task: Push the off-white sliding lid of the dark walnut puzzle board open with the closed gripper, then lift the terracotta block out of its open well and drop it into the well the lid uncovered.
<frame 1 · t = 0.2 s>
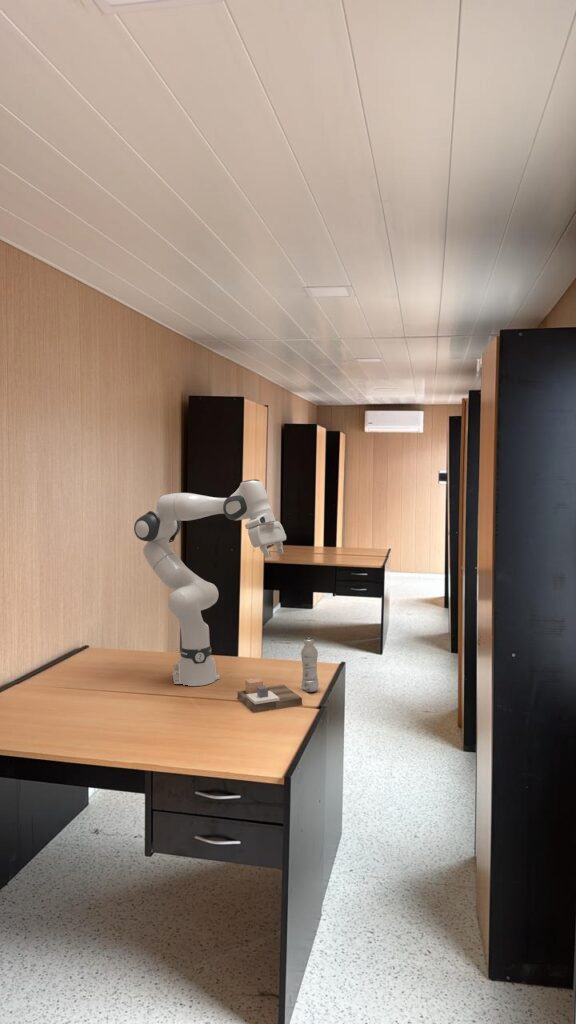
hand: (274, 555, 277), 52 cm above the table, tool tilted 20°, fingers open, 8 cm apart
lid: (262, 693, 261), point 6 cm above the table, slide at 0.0 cm
board: (269, 704, 267), on the table
plastic bottle: (310, 692, 281), on the table
block: (254, 699, 270), point 1 cm above the table, touching board
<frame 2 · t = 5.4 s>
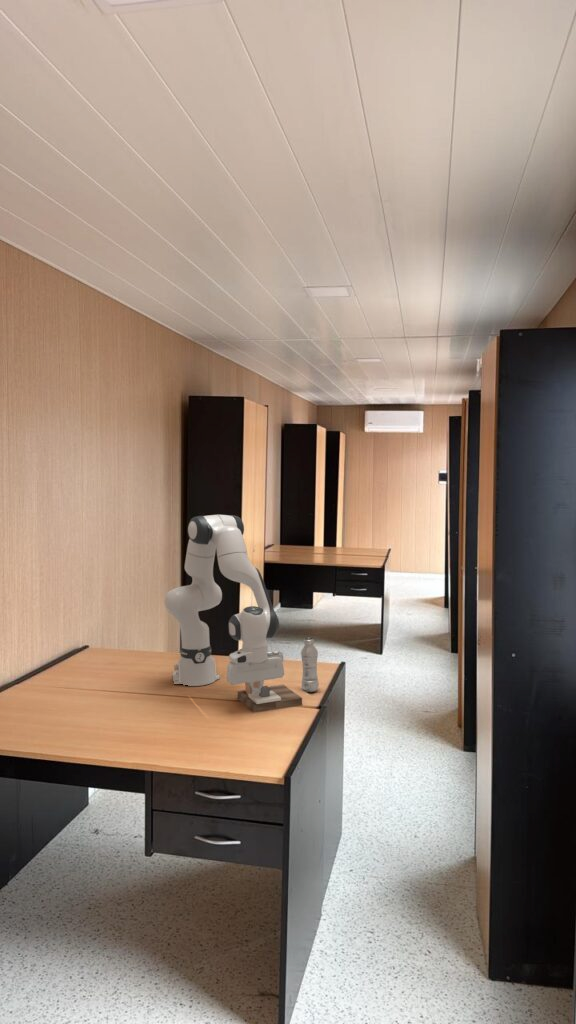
hand: (256, 693, 260), 6 cm above the table, tool pointing down, fingers closed
lid: (264, 692, 261), point 6 cm above the table, slide at 0.7 cm, touching gripper
everything else where it was.
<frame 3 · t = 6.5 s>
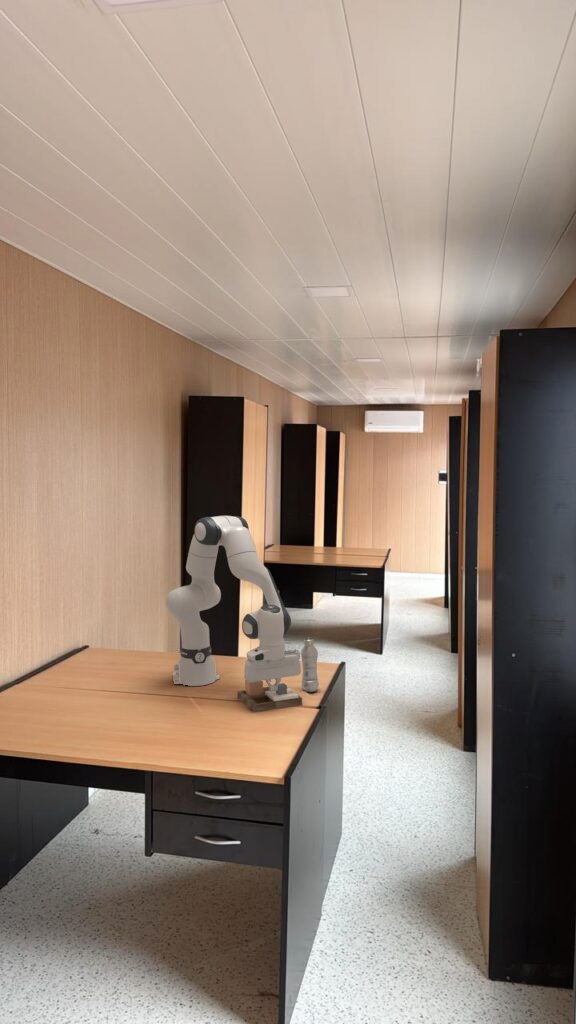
hand: (273, 690, 263), 6 cm above the table, tool pointing down, fingers closed
lid: (281, 690, 264), point 6 cm above the table, slide at 7.1 cm, touching gripper
everything else where it was.
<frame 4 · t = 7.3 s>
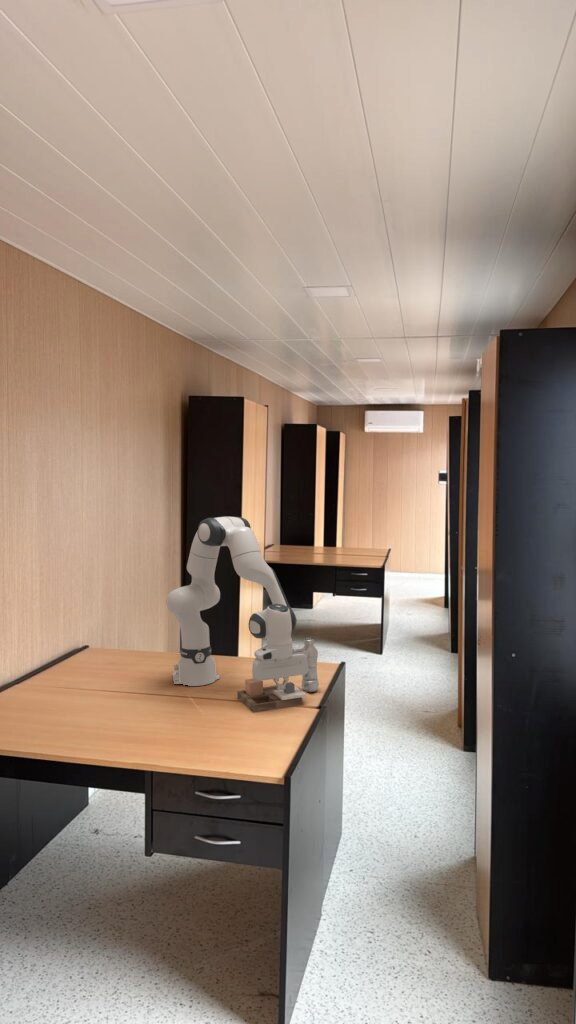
hand: (281, 689, 264), 6 cm above the table, tool pointing down, fingers closed
lid: (289, 689, 265), point 6 cm above the table, slide at 10.0 cm, touching gripper
everything else where it was.
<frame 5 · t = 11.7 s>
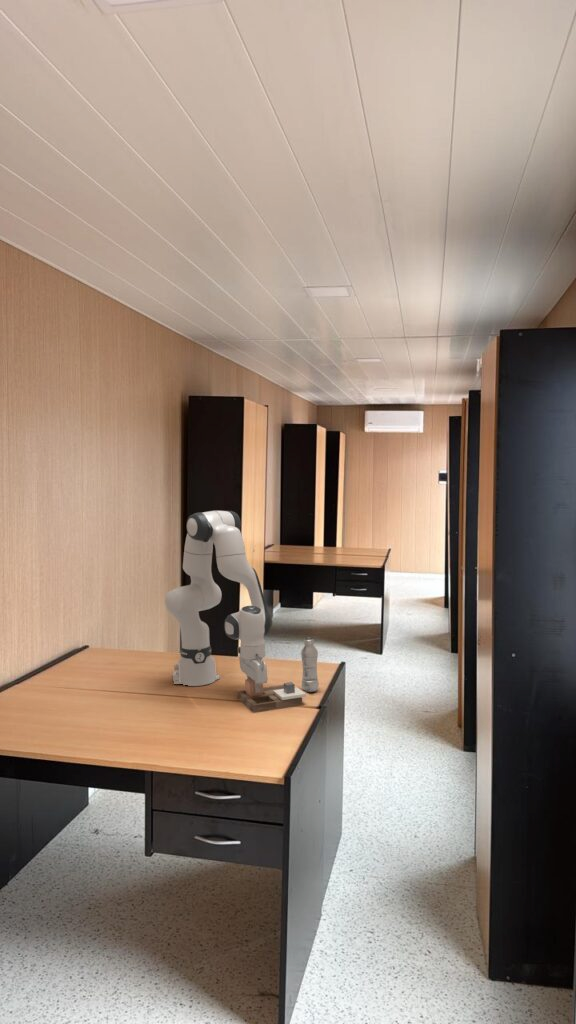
hand: (254, 689, 270), 5 cm above the table, tool pointing down, fingers closed on block, 5 cm apart
lid: (289, 689, 265), point 6 cm above the table, slide at 10.0 cm
block: (254, 699, 270), point 1 cm above the table, touching board, gripper
everything else where it was.
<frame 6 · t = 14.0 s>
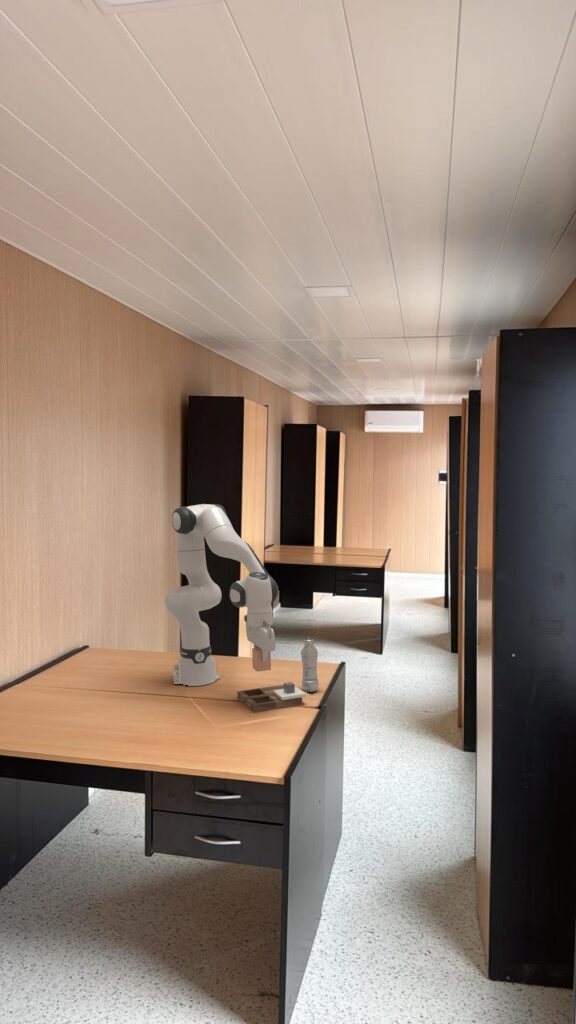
hand: (261, 658, 260), 18 cm above the table, tool pointing down, fingers closed on block, 5 cm apart
block: (261, 669, 261), point 14 cm above the table, touching gripper
everything else where it was.
when the fingers open (6 cm above the table, at t = 16.6 s): block stays where it is, resting on board.
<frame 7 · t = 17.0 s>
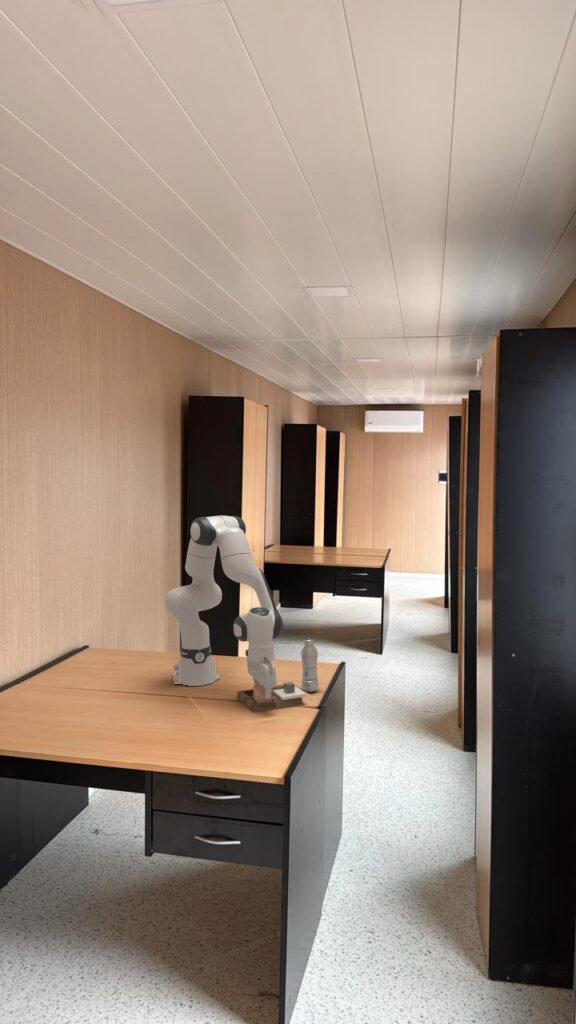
hand: (262, 693, 261), 6 cm above the table, tool pointing down, fingers open, 8 cm apart
block: (262, 706, 262), point 1 cm above the table, touching board
everything else where it was.
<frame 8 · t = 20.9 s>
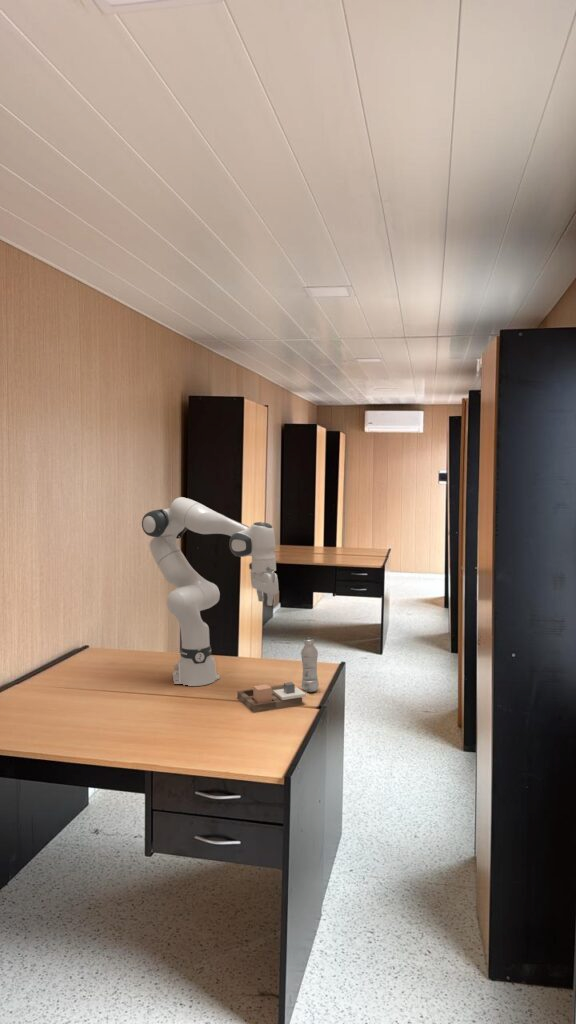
hand: (265, 603, 278), 34 cm above the table, tool pointing down, fingers open, 8 cm apart
nothing on the table moved.
at the end: lid slide at 10.0 cm; block 0.1 cm from the target spot on the board, point 1.0 cm above the board's base; block tilted 0° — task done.
